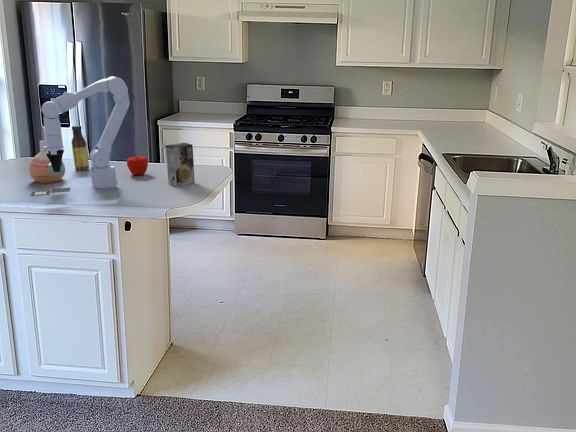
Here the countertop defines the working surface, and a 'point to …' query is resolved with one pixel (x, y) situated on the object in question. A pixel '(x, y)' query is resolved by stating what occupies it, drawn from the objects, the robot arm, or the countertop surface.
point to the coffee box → (180, 164)
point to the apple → (137, 165)
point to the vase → (42, 167)
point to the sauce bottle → (79, 149)
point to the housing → (56, 172)
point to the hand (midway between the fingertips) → (57, 170)
